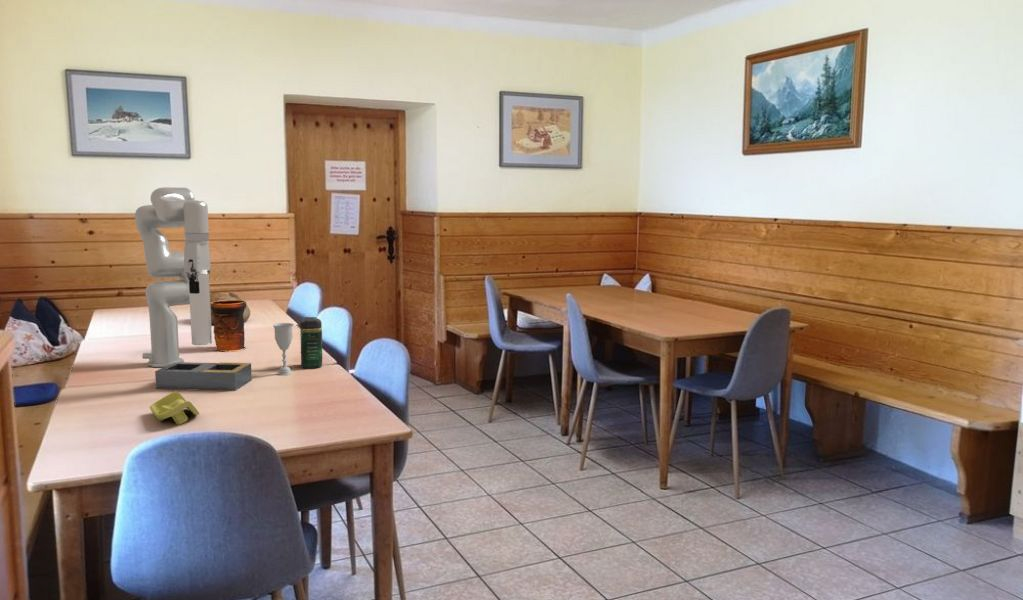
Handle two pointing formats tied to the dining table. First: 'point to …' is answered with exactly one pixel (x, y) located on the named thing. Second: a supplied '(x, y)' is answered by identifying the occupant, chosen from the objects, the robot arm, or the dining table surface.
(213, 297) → the bread
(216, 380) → the dock
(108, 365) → the dining table surface
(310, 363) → the coffee jar
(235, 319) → the vessel
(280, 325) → the chalice
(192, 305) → the silver long cylinder
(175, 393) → the plastic component
